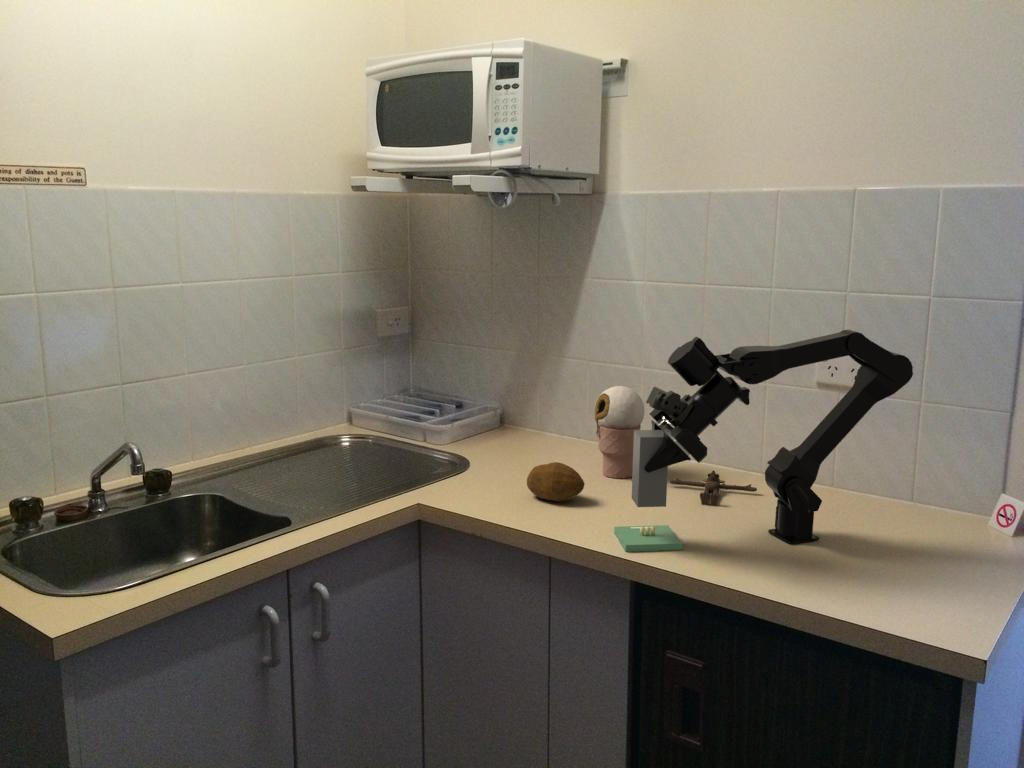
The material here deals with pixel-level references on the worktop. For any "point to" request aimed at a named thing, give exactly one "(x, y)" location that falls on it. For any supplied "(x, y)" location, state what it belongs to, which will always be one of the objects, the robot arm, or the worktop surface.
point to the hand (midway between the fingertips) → (642, 466)
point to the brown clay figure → (712, 487)
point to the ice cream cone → (618, 429)
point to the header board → (647, 538)
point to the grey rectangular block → (646, 485)
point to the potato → (554, 482)
